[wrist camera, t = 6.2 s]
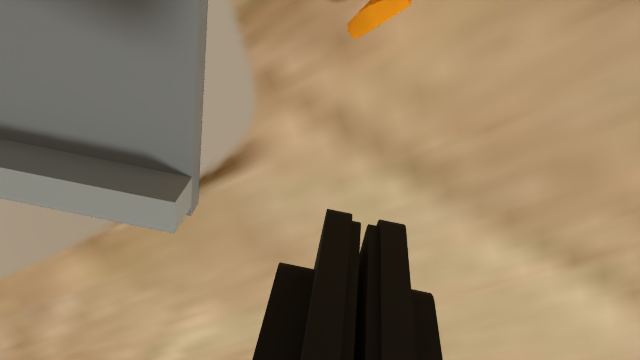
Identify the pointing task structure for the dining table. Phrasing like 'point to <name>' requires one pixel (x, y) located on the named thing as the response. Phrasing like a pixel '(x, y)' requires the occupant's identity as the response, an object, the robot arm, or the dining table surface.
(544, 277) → the dining table surface
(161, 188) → the u rest
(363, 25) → the toy figure
